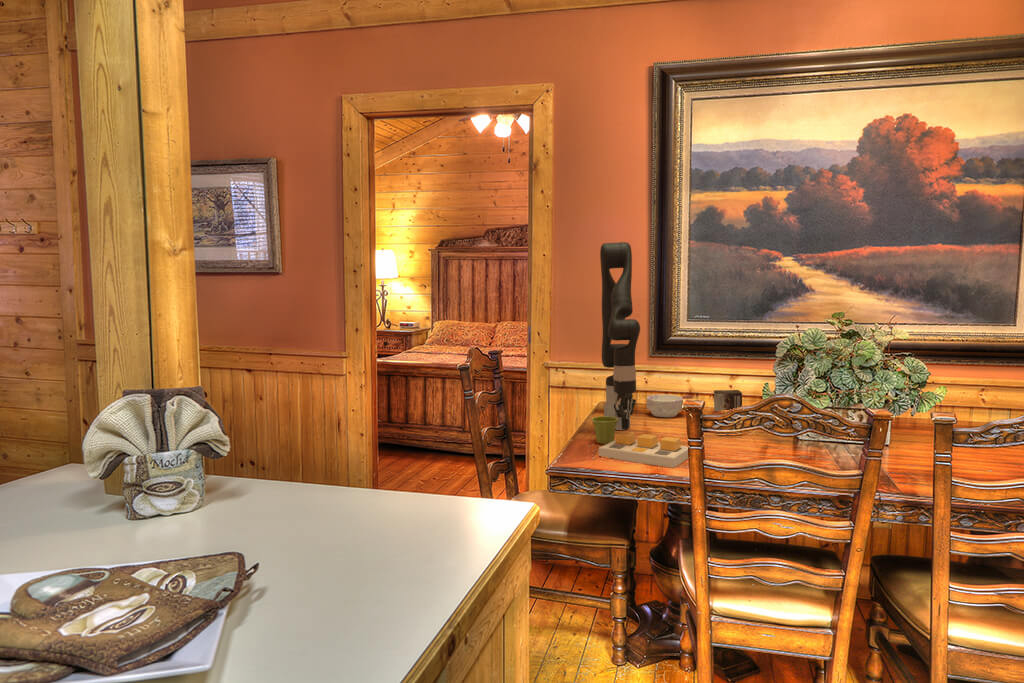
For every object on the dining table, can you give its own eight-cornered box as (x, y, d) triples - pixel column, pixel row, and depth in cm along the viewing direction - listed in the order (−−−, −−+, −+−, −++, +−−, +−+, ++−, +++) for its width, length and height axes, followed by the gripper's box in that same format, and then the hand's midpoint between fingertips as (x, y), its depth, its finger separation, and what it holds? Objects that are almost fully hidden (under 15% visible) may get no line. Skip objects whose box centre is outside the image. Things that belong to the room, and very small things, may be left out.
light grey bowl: (686, 419, 271) (686, 400, 270) (649, 419, 272) (648, 400, 271) (679, 411, 286) (679, 393, 285) (644, 412, 287) (644, 394, 286)
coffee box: (738, 431, 246) (738, 389, 245) (742, 436, 240) (743, 392, 238) (713, 432, 247) (713, 389, 246) (717, 436, 241) (717, 392, 239)
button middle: (637, 445, 217) (637, 437, 217) (643, 442, 222) (643, 433, 221) (651, 447, 215) (651, 438, 214) (657, 444, 219) (657, 435, 218)
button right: (660, 448, 213) (660, 439, 213) (666, 445, 217) (666, 436, 217) (675, 450, 210) (675, 441, 210) (680, 447, 214) (680, 438, 214)
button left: (615, 443, 222) (615, 434, 222) (622, 439, 226) (622, 431, 226) (629, 444, 219) (629, 436, 219) (635, 441, 223) (635, 432, 223)
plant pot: (593, 446, 232) (593, 422, 231) (590, 439, 241) (590, 416, 240) (620, 445, 232) (619, 421, 231) (616, 439, 241) (615, 415, 240)
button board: (598, 456, 218) (598, 446, 217) (620, 446, 231) (620, 436, 230) (673, 467, 203) (673, 457, 202) (692, 455, 216) (692, 445, 215)
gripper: (623, 375, 228) (623, 424, 230) (605, 380, 217) (606, 431, 219) (643, 376, 224) (643, 426, 225) (626, 381, 213) (627, 434, 215)
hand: (625, 429), depth 222 cm, fingers closed
